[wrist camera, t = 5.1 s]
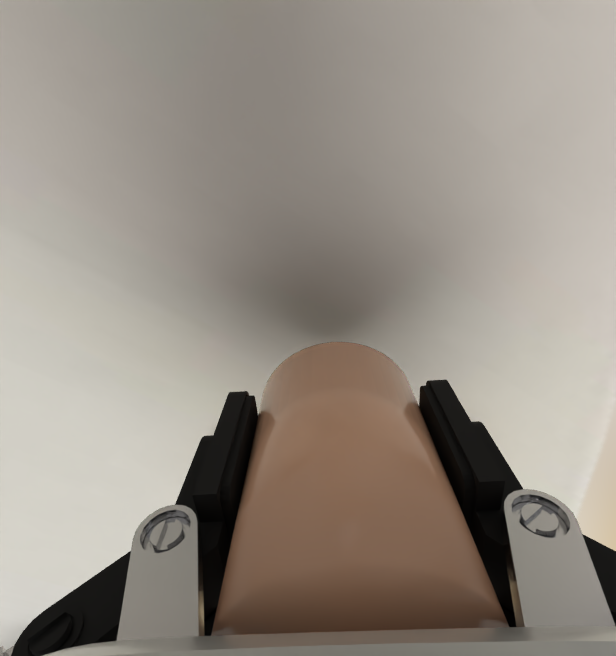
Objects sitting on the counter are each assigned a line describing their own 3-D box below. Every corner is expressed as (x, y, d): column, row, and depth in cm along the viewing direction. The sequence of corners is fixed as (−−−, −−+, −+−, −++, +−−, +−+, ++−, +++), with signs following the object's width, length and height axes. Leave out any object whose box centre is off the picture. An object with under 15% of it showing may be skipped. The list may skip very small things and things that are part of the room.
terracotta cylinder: (251, 347, 12) (179, 571, 6) (416, 336, 12) (538, 558, 5) (270, 470, 14) (233, 738, 8) (411, 464, 14) (494, 734, 7)
